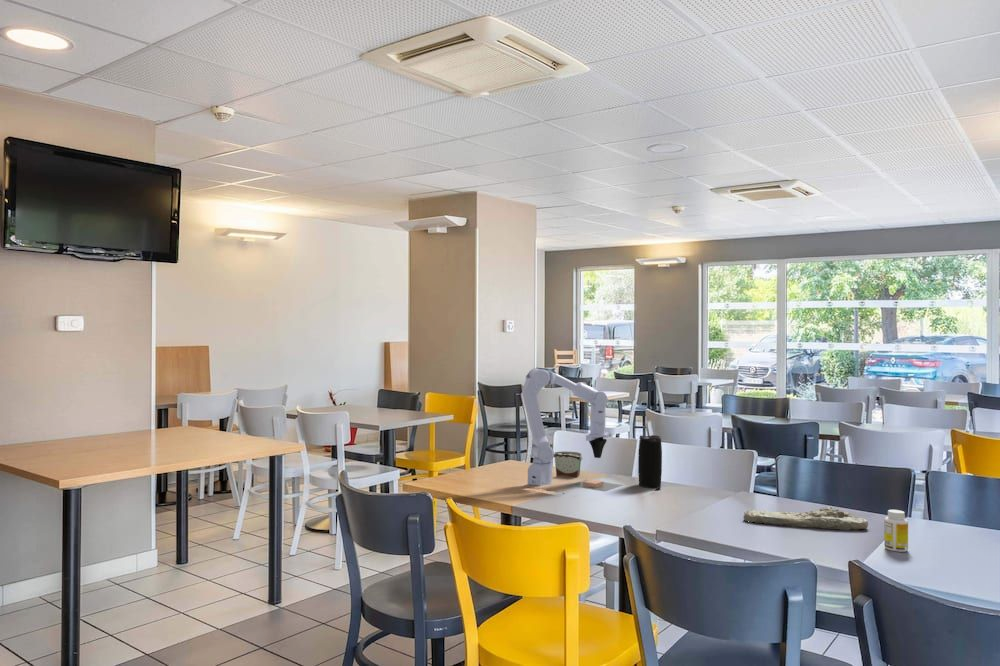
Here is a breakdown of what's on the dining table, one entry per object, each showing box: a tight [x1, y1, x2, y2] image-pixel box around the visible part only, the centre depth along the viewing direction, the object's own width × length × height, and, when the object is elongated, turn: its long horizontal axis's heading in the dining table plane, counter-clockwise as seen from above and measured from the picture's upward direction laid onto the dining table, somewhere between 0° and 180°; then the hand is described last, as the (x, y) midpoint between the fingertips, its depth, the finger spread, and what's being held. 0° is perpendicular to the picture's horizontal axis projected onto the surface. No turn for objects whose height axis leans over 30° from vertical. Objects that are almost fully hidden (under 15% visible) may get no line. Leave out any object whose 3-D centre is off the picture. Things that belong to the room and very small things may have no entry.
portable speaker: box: [637, 434, 663, 492], centre depth 264 cm, size 9×9×20 cm
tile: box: [583, 479, 605, 488], centre depth 263 cm, size 2×6×6 cm
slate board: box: [566, 479, 624, 492], centre depth 264 cm, size 14×16×1 cm
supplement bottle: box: [883, 509, 909, 553], centre depth 190 cm, size 6×6×10 cm
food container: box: [553, 450, 584, 478], centre depth 284 cm, size 12×6×10 cm, turn 58°
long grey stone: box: [743, 506, 869, 531], centre depth 216 cm, size 35×5×10 cm
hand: (597, 457), depth 274 cm, fingers closed
